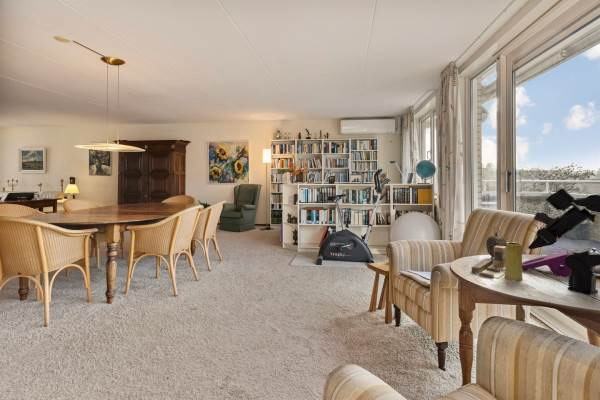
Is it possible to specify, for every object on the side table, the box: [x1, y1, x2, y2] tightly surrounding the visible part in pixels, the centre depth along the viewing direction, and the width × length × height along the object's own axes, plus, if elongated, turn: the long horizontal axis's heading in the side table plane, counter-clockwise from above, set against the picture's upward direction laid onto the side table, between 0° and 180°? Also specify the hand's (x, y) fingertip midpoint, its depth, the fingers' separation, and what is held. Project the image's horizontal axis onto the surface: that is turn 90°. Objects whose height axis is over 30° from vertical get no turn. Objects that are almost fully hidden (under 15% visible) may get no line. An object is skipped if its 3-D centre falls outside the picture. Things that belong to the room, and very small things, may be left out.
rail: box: [471, 245, 506, 279], centre depth 142 cm, size 11×24×9 cm, turn 134°
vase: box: [503, 241, 523, 281], centre depth 130 cm, size 6×6×14 cm
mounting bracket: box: [522, 249, 572, 278], centre depth 138 cm, size 10×8×18 cm
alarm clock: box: [485, 226, 507, 259], centre depth 159 cm, size 11×5×16 cm, turn 179°
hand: (531, 246), depth 126 cm, fingers open, 9 cm apart
